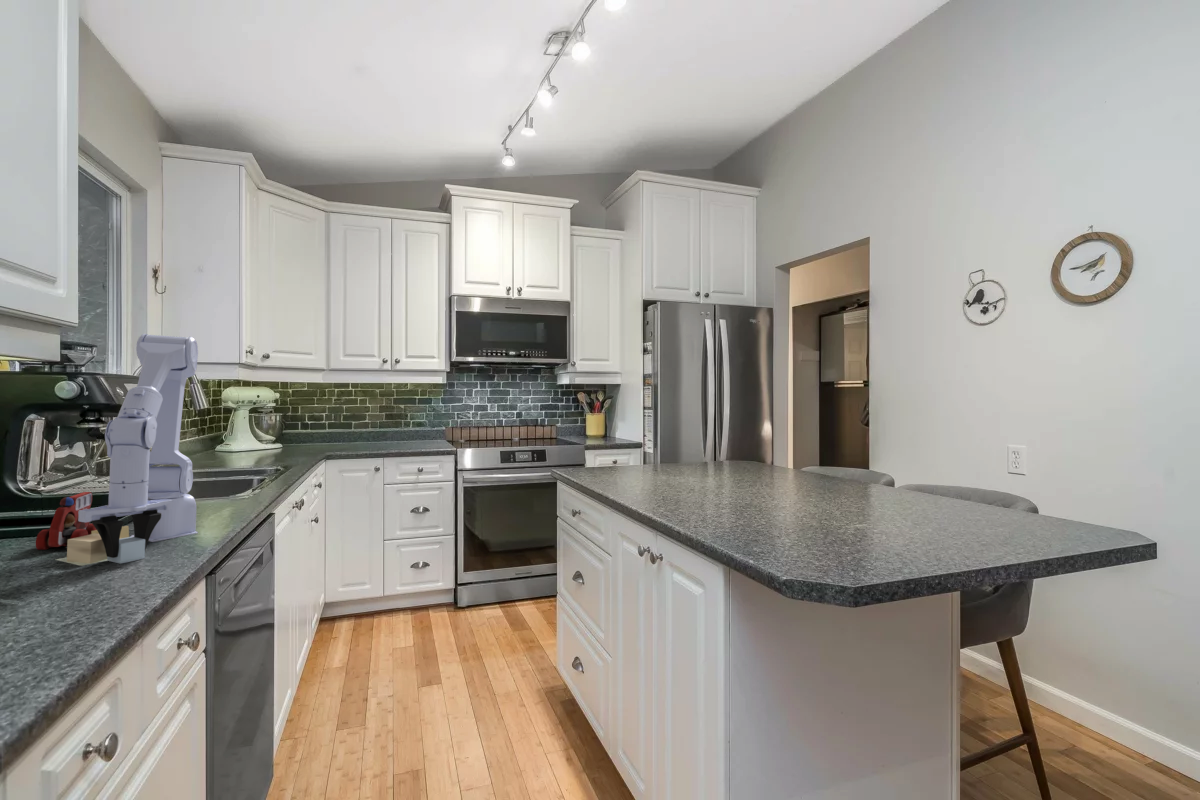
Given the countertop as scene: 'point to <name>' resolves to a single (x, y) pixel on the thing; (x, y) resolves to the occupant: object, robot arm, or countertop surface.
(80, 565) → the plate
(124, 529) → the ochre block
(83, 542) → the maple block
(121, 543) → the blue block
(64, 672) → the countertop surface
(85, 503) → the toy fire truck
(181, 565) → the countertop surface
